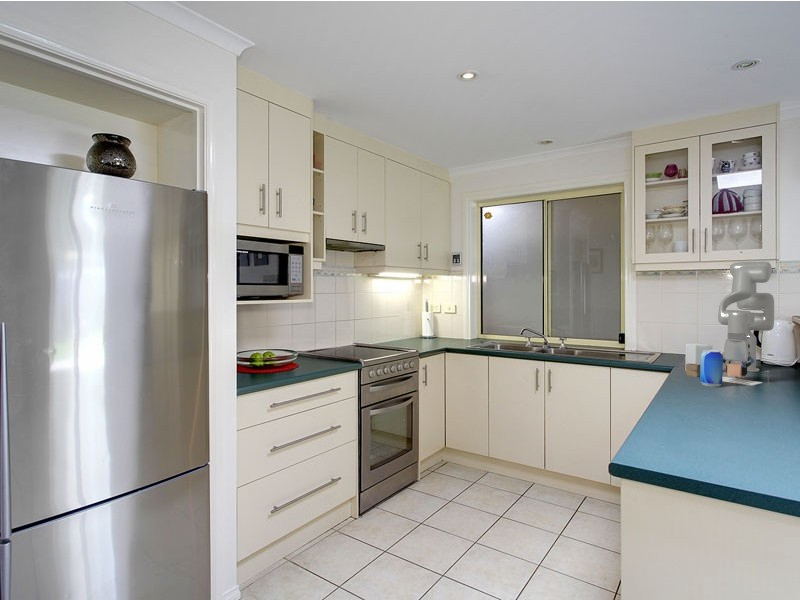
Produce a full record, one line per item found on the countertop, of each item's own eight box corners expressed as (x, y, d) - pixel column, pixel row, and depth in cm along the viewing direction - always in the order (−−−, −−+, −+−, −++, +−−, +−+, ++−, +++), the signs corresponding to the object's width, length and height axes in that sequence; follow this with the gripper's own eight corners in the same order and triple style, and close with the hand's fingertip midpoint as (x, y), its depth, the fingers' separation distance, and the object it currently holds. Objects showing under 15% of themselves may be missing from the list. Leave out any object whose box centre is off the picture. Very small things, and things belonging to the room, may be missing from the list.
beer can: (715, 383, 212) (716, 349, 211) (726, 387, 203) (727, 352, 203) (696, 383, 212) (697, 349, 212) (706, 387, 204) (707, 351, 204)
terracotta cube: (732, 374, 221) (732, 362, 221) (745, 375, 216) (745, 364, 216) (727, 375, 218) (727, 363, 218) (740, 377, 214) (740, 365, 213)
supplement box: (712, 374, 236) (713, 345, 236) (695, 373, 236) (695, 345, 236) (701, 370, 245) (702, 343, 245) (684, 370, 245) (685, 343, 245)
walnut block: (690, 375, 233) (690, 363, 233) (701, 376, 229) (701, 364, 229) (685, 376, 230) (686, 364, 230) (696, 377, 226) (696, 365, 226)
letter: (722, 376, 228) (722, 376, 228) (763, 382, 214) (763, 382, 214) (710, 379, 221) (710, 379, 221) (751, 385, 207) (751, 385, 207)
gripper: (762, 338, 212) (761, 376, 212) (720, 335, 226) (719, 371, 227) (755, 339, 208) (754, 378, 208) (713, 335, 222) (712, 372, 223)
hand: (736, 374), depth 217 cm, fingers closed on terracotta cube, 5 cm apart
